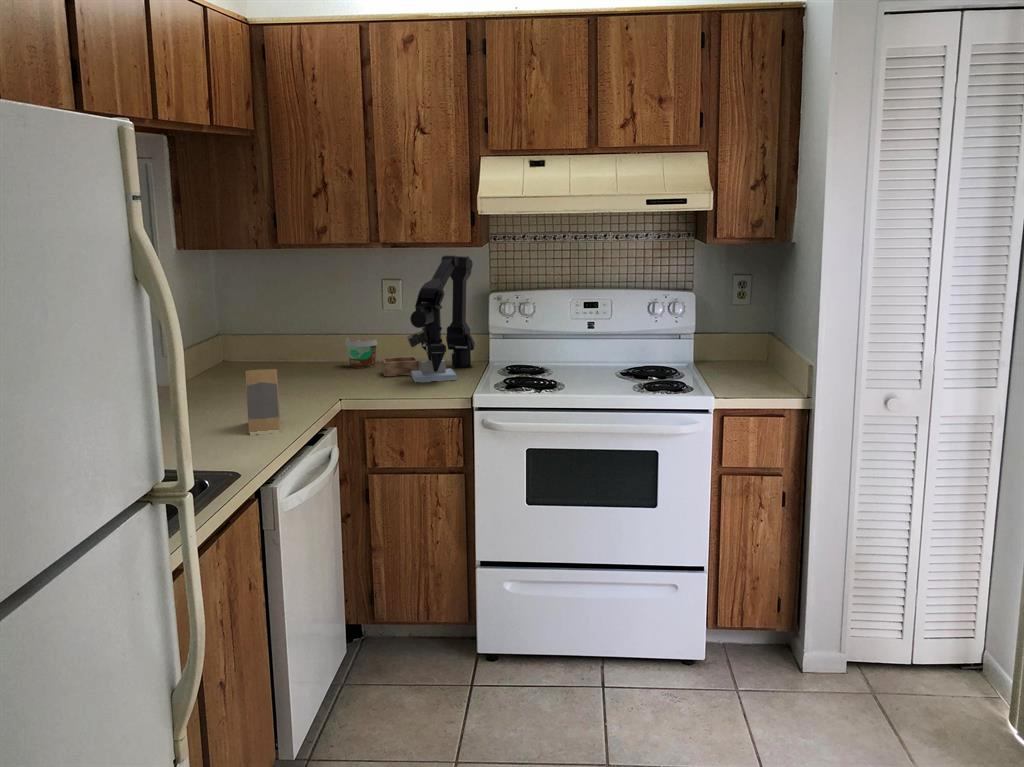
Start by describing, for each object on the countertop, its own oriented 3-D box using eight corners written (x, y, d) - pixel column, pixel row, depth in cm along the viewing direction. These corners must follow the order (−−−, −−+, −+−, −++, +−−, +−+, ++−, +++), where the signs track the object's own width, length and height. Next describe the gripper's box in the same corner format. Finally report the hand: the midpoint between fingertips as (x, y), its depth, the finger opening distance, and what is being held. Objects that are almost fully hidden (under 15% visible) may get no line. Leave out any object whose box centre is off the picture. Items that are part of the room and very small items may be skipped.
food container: (340, 367, 337) (339, 340, 335) (348, 364, 343) (346, 338, 341) (371, 369, 334) (370, 341, 331) (378, 366, 339) (377, 339, 337)
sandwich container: (247, 436, 245) (243, 381, 242) (248, 422, 260) (244, 370, 256) (281, 434, 247) (277, 378, 244) (280, 420, 262) (276, 368, 258)
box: (416, 370, 330) (415, 356, 329) (419, 374, 322) (418, 360, 321) (382, 372, 328) (381, 358, 327) (384, 377, 319) (384, 362, 318)
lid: (451, 374, 322) (450, 357, 321) (456, 380, 312) (456, 362, 311) (411, 376, 319) (410, 359, 318) (415, 382, 309) (414, 365, 308)
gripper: (404, 321, 319) (406, 365, 322) (411, 328, 301) (413, 375, 304) (437, 319, 321) (438, 363, 325) (445, 327, 303) (447, 373, 307)
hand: (433, 369), depth 315 cm, fingers open, 8 cm apart
